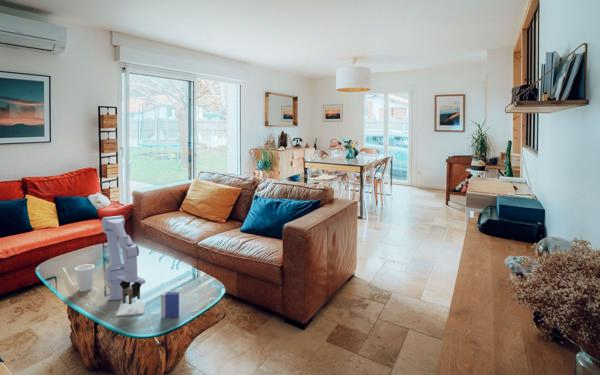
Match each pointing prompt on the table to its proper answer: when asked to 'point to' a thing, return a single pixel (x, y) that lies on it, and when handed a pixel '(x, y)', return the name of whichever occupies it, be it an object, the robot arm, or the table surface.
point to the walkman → (169, 304)
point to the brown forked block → (129, 294)
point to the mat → (131, 309)
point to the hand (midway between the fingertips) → (131, 295)
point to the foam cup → (85, 276)
